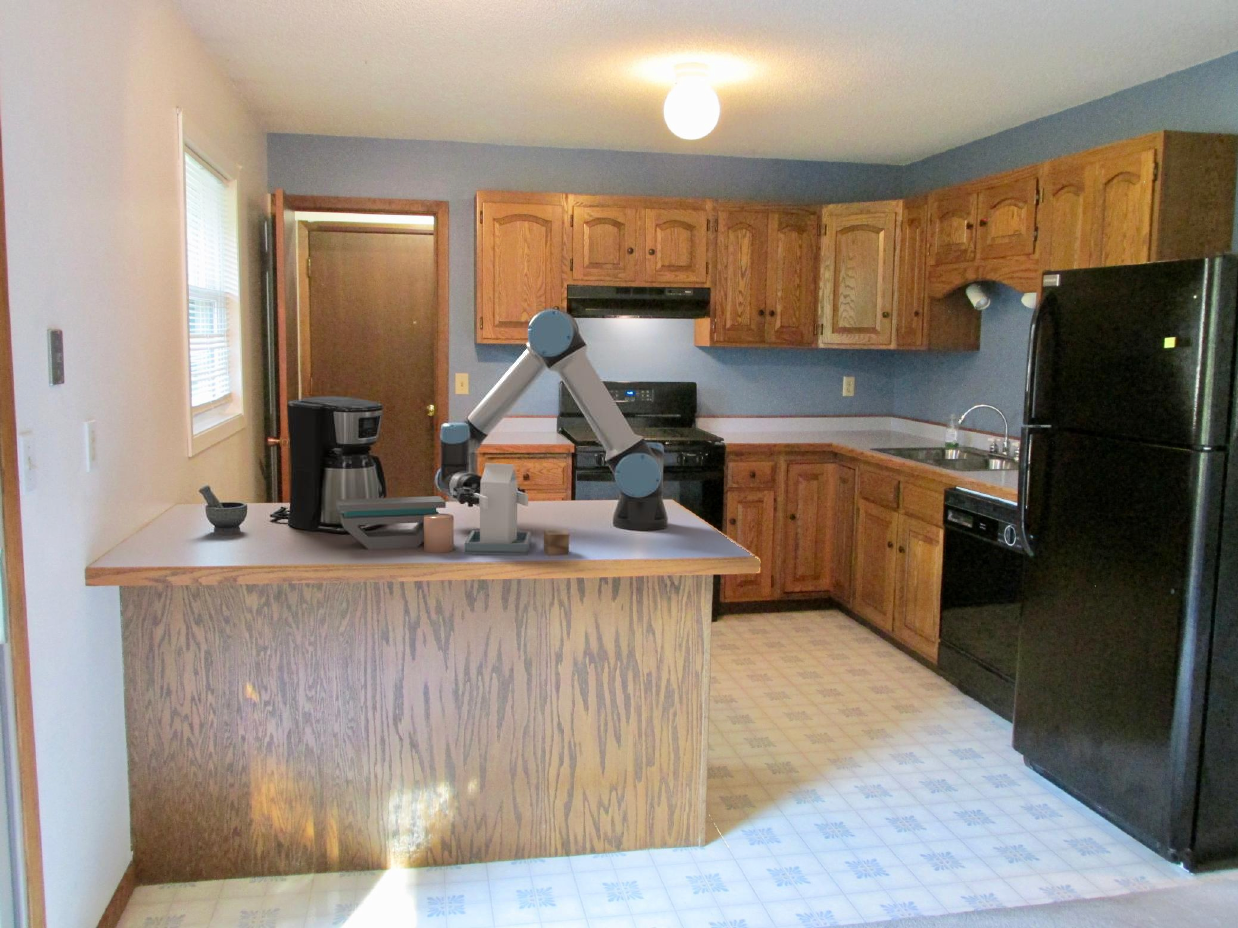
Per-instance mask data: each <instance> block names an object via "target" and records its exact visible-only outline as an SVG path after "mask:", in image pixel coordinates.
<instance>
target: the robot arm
mask: <svg viewBox="0 0 1238 928" xmlns="http://www.w3.org/2000/svg"><path fill="white" fill-rule="evenodd" d="M527 340H528V341H527V342H526V349H525V350H524V351H523V353H522V354H521V355H520V356H519V357H518V358H517V360H516V361H515V362H514V363H513V364H512V365H511V366H510V367H509V369H508V370H507V371H506V372H505V373H504V374H503V376H502V377H501V378H500V379H499V380H498V382H497V383H496V384H495V385H494V386H493V387H492V388H491V389H490V391H489V392H488V393H487V394H486V395H485V396H484V398H483V399H482V400H480V403H478V404H477V406H476V407H475V408H474V409H473V410H472V411H471V412H470V414H469V415H467V417H466V418H465V420H464V421H463V422H456V421H454V422H451V421H450V422H445V423H442V424H441V426H440V435H439V439H440V466H439V467H440V468H439V469H438V470H437V472H436V474H435V477H434V483H435V487H436V488H437V489H438V490H439V492H441V493H443V494H445V495H446V496H449V497H452V498H453V499H456V500H457V501H458V503H459V504H460V505H464V504H465V505H466V504H467V507H468V508H473V507H474V506H477V507H479V508H480V507H481V508H484V509H488V497H486V496H483V495H480V481H481V478H482V476H481V475H479V474H475V473H474V472H471V471H470V454H471V453H475V452H476V451H477V450H478V449H479V448H480V447H482V444H483V443H484V441H485V440H486V439H487V437H488V436H489V435H490V434H491V432H492V431H493V430H494V429H495V428H496V427H497V425H499V423H500V422H501V421H502V420H503V419H504V418H505V417H506V415H507V414H508V413H509V412H510V411H511V410H512V408H513V407H514V406H515V405H516V404H517V403H518V402H519V401H520V400H521V399H522V397H523V396H524V395H525V394H526V393H527V392H528V391H529V390H530V388H531V387H532V385H534V384H535V382H537V380H538V379H540V377H541V376H542V374H543V373H544V372H545V371H547V369H548V371H550V372H551V371H552V372H556V374H558V376H559V377H560V379H561V380H562V382H563V384H564V386H565V387H566V389H567V390H568V392H569V393H570V395H571V397H572V398H573V400H574V402H575V404H577V406H578V408H579V409H580V411H581V412H582V414H583V416H584V418H585V419H586V422H587V423H588V424H589V426H590V428H591V429H592V431H593V432H594V434H595V435H596V437H597V439H598V440H599V442H600V444H601V445H602V447H603V449H604V450H605V453H606V454H605V458H604V461H605V462H606V464H607V465H608V467H609V469H610V471H611V472H612V474H613V476H614V481H615V484H616V485H617V487H618V489H619V490H620V491H619V498H618V502H617V504H616V507H615V510H614V512H613V516H612V525H613V526H615V527H617V528H620V529H627V530H636V531H637V530H639V531H649V530H651V531H653V530H661V529H665V528H667V527H668V525H669V524H668V523H669V518H668V514H667V513H668V512H667V511H666V507H665V504H664V500H663V487H664V486H663V485H664V482H663V480H664V456H665V451H664V450H665V449H664V447H665V446H664V445H663V444H662V443H660V442H647V441H646V439H645V438H644V436H642V435H638V434H636V433H634V431H633V429H632V428H631V426H630V425H629V423H628V421H627V420H626V418H625V416H624V414H623V413H622V411H621V410H620V408H619V406H618V405H617V403H616V402H615V400H614V398H613V397H612V395H611V394H610V392H609V390H608V389H607V387H606V385H605V384H604V382H603V381H602V378H601V377H600V376H599V374H598V373H597V371H596V369H595V367H594V366H593V364H592V363H591V362H590V360H589V358H588V355H587V349H588V345H587V343H586V342H585V340H584V338H583V337H582V335H581V333H580V329H579V325H578V323H577V320H576V319H575V318H574V317H573V315H571V314H569V313H568V312H566V311H563V310H559V309H555V308H548V309H544V310H542V311H540V312H538V313H537V314H535V315H534V316H533V318H532V319H531V320H530V322H529V324H528V328H527ZM517 504H519V505H521V506H525V507H526V506H527V507H529V494H528V493H526V489H525V488H521V487H518V495H517Z"/></svg>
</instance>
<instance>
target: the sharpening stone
mask: <svg viewBox="0 0 1238 928" xmlns="http://www.w3.org/2000/svg"><path fill="white" fill-rule="evenodd" d="M446 504H447V501H446V500H445V499H443V498H442V497H441V496H440V495H438V496H436V495H435V496H433V495H432V496H407V497H406V496H404V497H402V496H401V497H400V496H399V497H386V498H367V499H336V507H337V509H338V511H339V512H341V511H345V513H341V523H342V525H343V527H344V529H346V530H347V531H348V532H349V533H348V534H350V535H351V536H353V537H354V538H355V539H356V540H357V541H358V542H360V544H362V545H363V546H364V547H365V548H366V549H368V550H383V549H399V548H400V547H401V549H402V548H403V547H404V548H418V547H419V546H420V545H421V544H422V543H424V516H425V515H428V514H438V513H439V512H438V510H437V509H445V508H447V506H446ZM376 524H383V525H393V524H394V525H395V524H416V525H415V526H413V528H408V529H407V528H406V529H404V528H403V529H383V530H363V529H362V528H361V527H360V526H359V525H376ZM417 546H418V547H417ZM404 548H403V549H404Z"/></svg>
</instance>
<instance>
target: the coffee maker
mask: <svg viewBox="0 0 1238 928" xmlns="http://www.w3.org/2000/svg"><path fill="white" fill-rule="evenodd" d="M286 408H287V409H286V410H287V425H288V426H287V427H288V439H289V441H288V443H289V455H290V458H289V459H290V490H289V496H290V497H289V506H285V507H284V506H280V508H279V509H278V510H276V511H273V513H270V514H269V517H270V518H272V519H281V520H287V525H288V526H290V527H291V528H296V529H300V530H305V531H310V532H311V531H312V532H317V531H319V532H326V533H327V532H328V533H334V534H335V533H336V534H341V535H345V534H350V533H349V532H348V531H347V530H346V529H344V527H343V525H342V523H341V513H345V511H341V512H339V511H338V509H337V507H336V499H367V498H387V486H386V485H387V484H386V479H385V472H384V469H383V466H382V462H381V460H380V458H379V456H377V455H374V454H371V453H370V451H372V446H373V445H375V444H376V443H377V442H378V439H379V434H380V431H381V430H380V429H381V424H382V419H383V412H384V409H383V408H384V407H383V404H381V403H380V402H377V401H374V400H369V399H362V398H356V397H347V396H338V395H330V396H329V395H326V396H325V395H323V396H311V397H304V398H303V397H302V398H299V399H293V400H289V401H288V402H287V404H286ZM287 509H288V510H287ZM359 526H360V527H361V528H362V529H363V530H364V531H369V530H373V529H375V528H378V527H379V528H380V527H381V526H384V524H376V525H359Z"/></svg>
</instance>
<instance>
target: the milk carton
mask: <svg viewBox="0 0 1238 928" xmlns="http://www.w3.org/2000/svg"><path fill="white" fill-rule="evenodd" d="M482 473H483V474H482V476H481V477H482V478H481V481H480V495H483V496H486V497H488V509H484V508H481V507H479V511H480V512H479V531H480V543H511V542H513V541H514V540H516V539H517V531H518V503H517V495H518V485H519V481H518V480H519V479H518V476H517V473H516V471H515V464H509V463H508V464H507V463H492V462H491V463H489V462H486V463H485V465H484V470H483V472H482Z"/></svg>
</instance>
